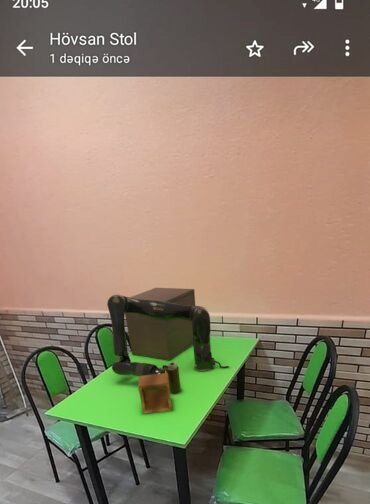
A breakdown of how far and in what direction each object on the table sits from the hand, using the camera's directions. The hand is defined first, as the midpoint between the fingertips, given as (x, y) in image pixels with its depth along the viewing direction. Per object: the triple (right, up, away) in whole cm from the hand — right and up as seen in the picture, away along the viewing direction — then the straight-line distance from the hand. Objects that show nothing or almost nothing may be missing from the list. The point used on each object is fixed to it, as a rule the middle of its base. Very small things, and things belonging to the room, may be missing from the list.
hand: (173, 375), depth 161 cm
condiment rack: (-7, -15, -7) cm, 18 cm away
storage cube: (-7, +23, +58) cm, 63 cm away
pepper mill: (+1, -7, +4) cm, 9 cm away
